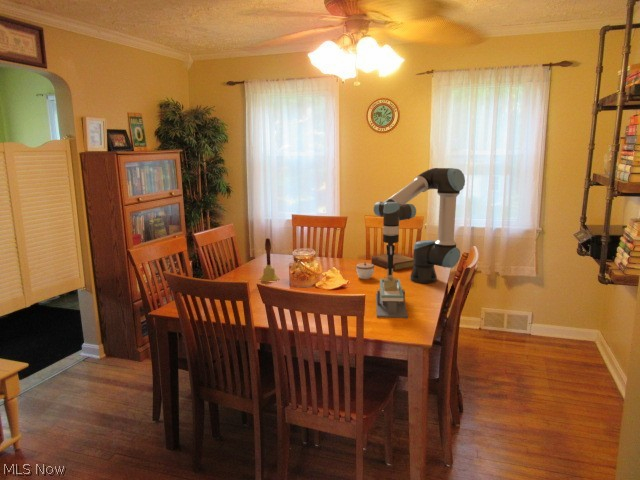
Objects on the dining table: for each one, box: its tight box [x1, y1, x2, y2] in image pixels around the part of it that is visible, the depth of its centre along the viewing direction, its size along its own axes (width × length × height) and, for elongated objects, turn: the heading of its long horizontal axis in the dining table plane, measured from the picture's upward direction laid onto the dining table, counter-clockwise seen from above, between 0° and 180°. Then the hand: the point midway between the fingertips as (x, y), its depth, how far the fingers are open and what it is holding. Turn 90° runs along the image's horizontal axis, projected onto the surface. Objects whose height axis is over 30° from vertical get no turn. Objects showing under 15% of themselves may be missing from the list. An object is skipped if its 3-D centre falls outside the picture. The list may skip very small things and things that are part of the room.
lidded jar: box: [355, 262, 375, 280], centre depth 273 cm, size 11×11×9 cm
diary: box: [371, 252, 414, 272], centre depth 301 cm, size 23×19×6 cm
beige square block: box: [383, 276, 398, 291], centre depth 223 cm, size 6×6×5 cm
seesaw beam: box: [379, 278, 404, 301], centre depth 223 cm, size 10×28×3 cm, turn 174°
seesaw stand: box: [375, 288, 409, 319], centre depth 224 cm, size 14×32×8 cm, turn 174°
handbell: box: [258, 237, 280, 282], centre depth 272 cm, size 12×12×25 cm
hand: (389, 280), depth 227 cm, fingers closed
